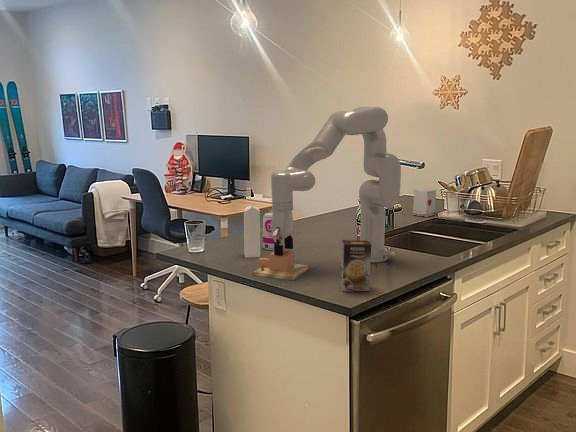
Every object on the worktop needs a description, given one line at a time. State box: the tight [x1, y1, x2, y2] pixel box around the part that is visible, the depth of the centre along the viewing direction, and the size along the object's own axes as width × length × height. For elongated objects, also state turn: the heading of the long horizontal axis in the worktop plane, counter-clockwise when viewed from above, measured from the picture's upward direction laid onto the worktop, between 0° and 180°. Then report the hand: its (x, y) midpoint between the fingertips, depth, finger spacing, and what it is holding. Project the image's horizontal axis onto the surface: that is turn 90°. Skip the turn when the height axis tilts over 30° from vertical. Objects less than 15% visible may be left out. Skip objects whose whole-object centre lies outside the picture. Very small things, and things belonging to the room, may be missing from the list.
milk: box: [243, 200, 261, 259], centre depth 232 cm, size 6×6×22 cm
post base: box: [252, 262, 310, 281], centre depth 211 cm, size 16×16×5 cm
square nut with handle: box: [257, 249, 295, 272], centre depth 211 cm, size 12×7×6 cm, turn 68°
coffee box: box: [339, 239, 372, 292], centre depth 190 cm, size 9×6×16 cm
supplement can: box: [262, 212, 281, 252], centre depth 244 cm, size 8×8×15 cm
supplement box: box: [412, 187, 437, 214], centre depth 320 cm, size 9×9×15 cm
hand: (283, 252), depth 210 cm, fingers open, 9 cm apart
